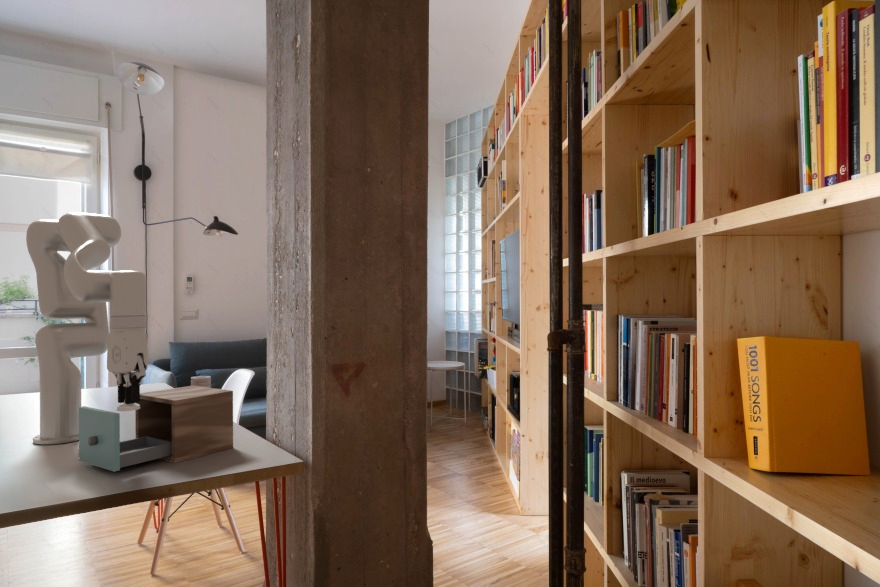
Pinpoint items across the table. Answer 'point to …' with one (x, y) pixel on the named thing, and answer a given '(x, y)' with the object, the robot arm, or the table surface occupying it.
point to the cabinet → (187, 420)
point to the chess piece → (128, 406)
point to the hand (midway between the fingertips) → (128, 401)
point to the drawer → (114, 442)
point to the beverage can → (201, 381)
